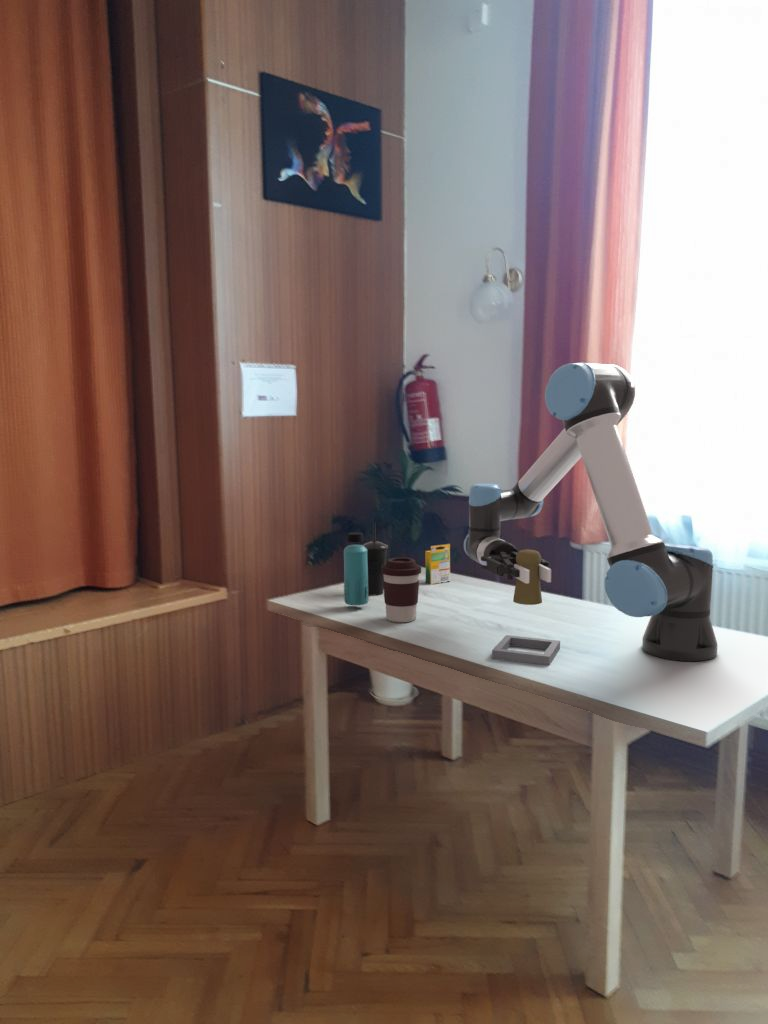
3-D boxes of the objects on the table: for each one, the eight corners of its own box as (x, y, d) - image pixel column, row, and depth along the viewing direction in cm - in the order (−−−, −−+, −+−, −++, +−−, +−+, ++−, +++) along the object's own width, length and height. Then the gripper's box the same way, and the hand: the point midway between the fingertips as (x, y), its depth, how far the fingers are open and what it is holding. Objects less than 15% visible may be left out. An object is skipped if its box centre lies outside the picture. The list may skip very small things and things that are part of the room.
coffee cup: (380, 624, 194) (380, 563, 192) (381, 614, 204) (381, 556, 202) (421, 624, 194) (422, 563, 192) (420, 614, 204) (420, 556, 202)
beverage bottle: (368, 611, 207) (367, 534, 204) (342, 611, 207) (341, 534, 204) (369, 604, 213) (368, 530, 210) (344, 604, 213) (343, 530, 211)
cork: (548, 602, 168) (549, 551, 166) (524, 606, 165) (525, 553, 164) (530, 596, 173) (531, 546, 172) (507, 599, 171) (508, 548, 169)
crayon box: (444, 580, 243) (444, 542, 242) (450, 581, 241) (450, 543, 239) (424, 582, 239) (425, 544, 238) (430, 584, 237) (430, 546, 235)
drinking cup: (389, 590, 230) (389, 521, 227) (386, 596, 222) (386, 525, 219) (363, 589, 230) (362, 521, 228) (359, 596, 223) (358, 525, 220)
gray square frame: (560, 648, 174) (560, 640, 174) (549, 665, 163) (549, 656, 163) (505, 642, 178) (506, 635, 178) (491, 658, 167) (492, 650, 167)
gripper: (532, 569, 188) (576, 592, 165) (462, 573, 184) (498, 596, 162) (532, 538, 187) (577, 556, 164) (463, 541, 183) (499, 560, 161)
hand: (538, 576), depth 163 cm, fingers closed on cork, 4 cm apart
